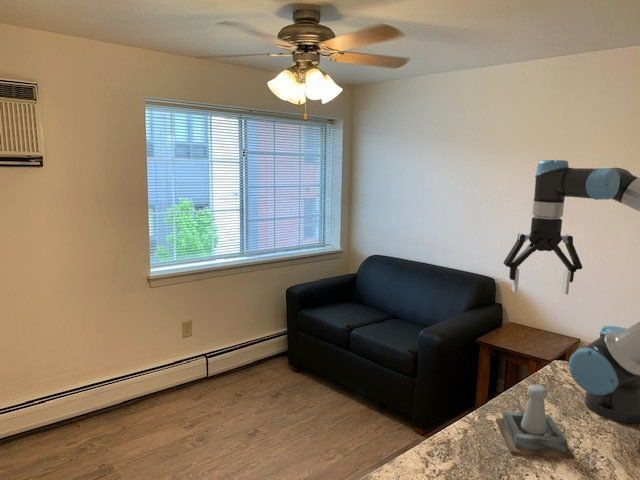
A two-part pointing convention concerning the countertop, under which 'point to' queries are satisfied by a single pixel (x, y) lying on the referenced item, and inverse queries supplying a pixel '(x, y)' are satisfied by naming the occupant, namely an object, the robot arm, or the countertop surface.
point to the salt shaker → (535, 412)
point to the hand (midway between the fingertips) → (539, 292)
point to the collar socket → (533, 438)
